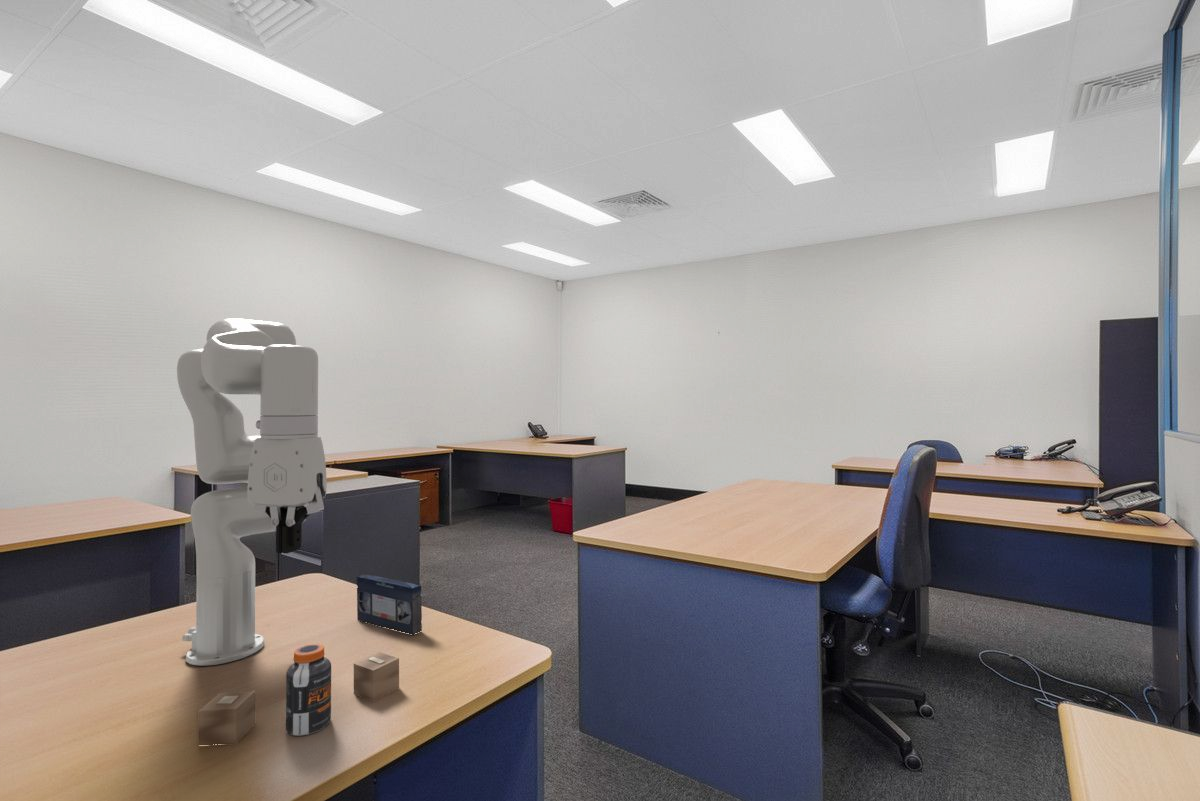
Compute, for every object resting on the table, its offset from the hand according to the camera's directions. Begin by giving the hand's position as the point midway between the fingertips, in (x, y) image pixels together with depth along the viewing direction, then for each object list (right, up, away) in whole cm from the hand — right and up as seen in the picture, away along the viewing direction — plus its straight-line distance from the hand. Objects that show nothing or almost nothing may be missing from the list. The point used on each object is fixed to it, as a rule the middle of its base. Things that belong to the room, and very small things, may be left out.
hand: (288, 550), depth 82 cm
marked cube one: (-7, -26, -3) cm, 27 cm away
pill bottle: (+3, -26, -1) cm, 26 cm away
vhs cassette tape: (+1, -27, +37) cm, 46 cm away
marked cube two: (+9, -26, +9) cm, 29 cm away
